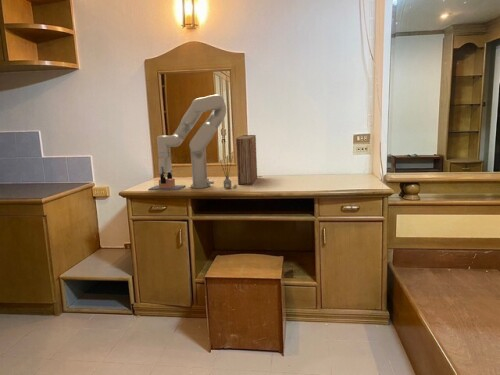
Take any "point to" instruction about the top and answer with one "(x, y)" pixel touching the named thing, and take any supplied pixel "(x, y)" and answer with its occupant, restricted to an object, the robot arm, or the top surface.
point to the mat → (177, 187)
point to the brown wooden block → (246, 159)
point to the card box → (167, 183)
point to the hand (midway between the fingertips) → (166, 182)
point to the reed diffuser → (227, 177)
